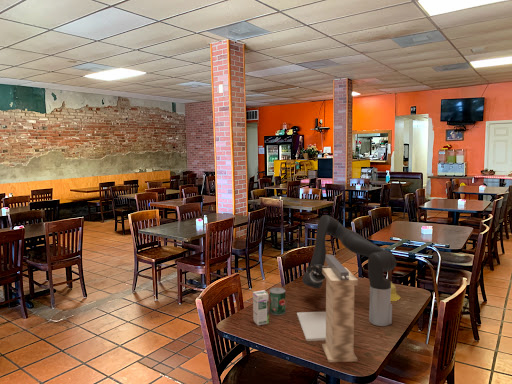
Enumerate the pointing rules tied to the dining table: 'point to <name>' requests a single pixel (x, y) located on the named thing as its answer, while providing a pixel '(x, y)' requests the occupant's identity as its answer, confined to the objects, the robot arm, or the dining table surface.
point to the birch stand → (339, 317)
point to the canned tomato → (277, 301)
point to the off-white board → (313, 325)
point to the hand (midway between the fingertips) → (324, 266)
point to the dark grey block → (337, 267)
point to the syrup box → (261, 307)
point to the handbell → (393, 287)
